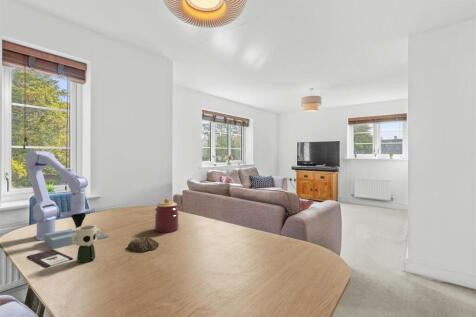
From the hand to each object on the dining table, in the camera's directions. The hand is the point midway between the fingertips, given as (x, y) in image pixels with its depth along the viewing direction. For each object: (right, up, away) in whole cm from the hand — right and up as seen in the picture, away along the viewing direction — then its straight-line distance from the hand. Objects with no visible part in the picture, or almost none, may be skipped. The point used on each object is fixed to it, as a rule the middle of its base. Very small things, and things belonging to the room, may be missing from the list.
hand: (78, 229), depth 124 cm
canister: (+39, -5, +17) cm, 43 cm away
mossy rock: (+37, -6, -11) cm, 39 cm away
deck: (-4, -5, -5) cm, 8 cm away
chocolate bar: (+3, -6, -23) cm, 24 cm away
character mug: (+19, -5, -25) cm, 32 cm away
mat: (+3, -5, +4) cm, 7 cm away
